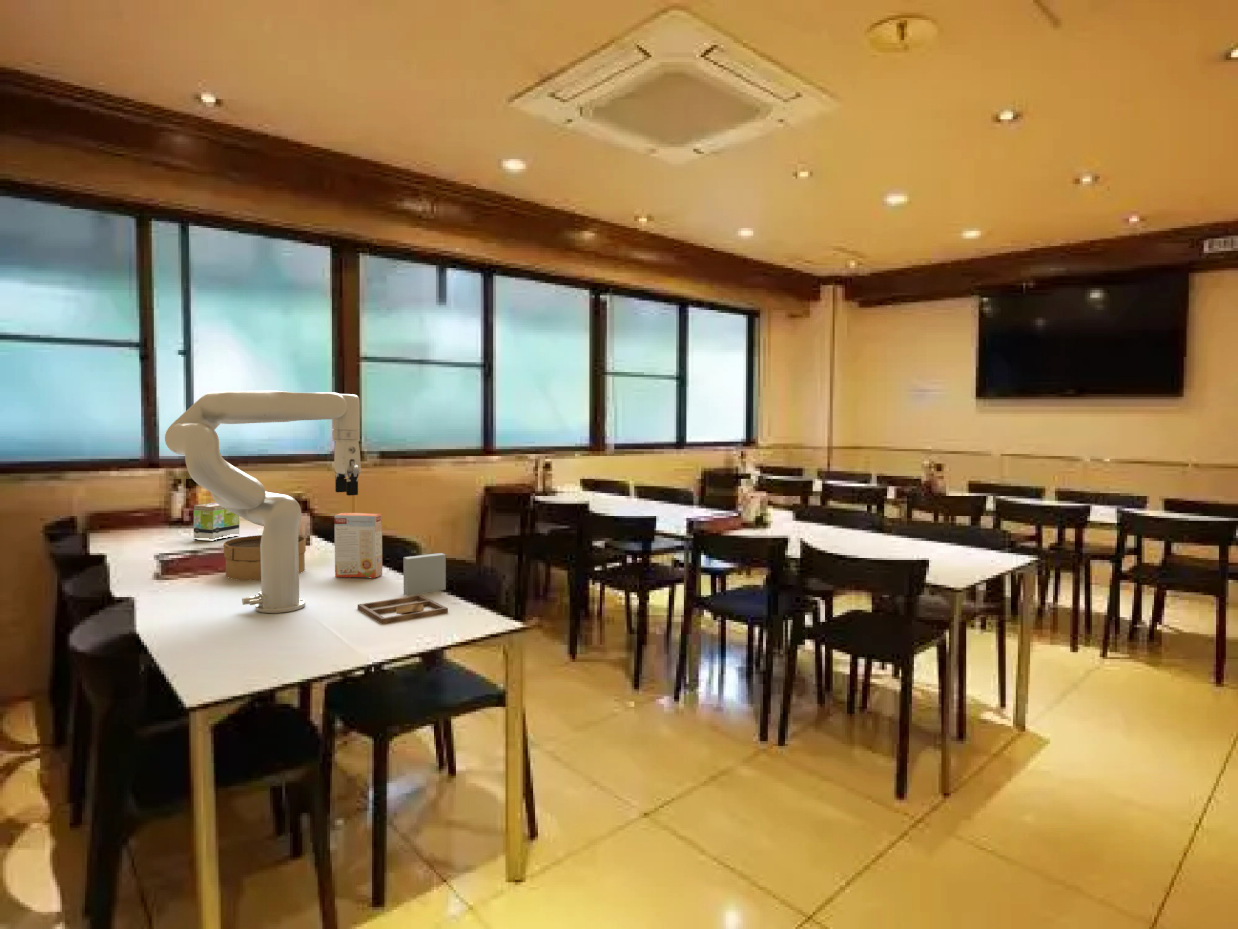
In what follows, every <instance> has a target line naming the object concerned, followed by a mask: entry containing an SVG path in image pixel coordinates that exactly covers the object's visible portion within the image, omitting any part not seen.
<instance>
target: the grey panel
mask: <svg viewBox="0 0 1238 929" xmlns="http://www.w3.org/2000/svg"><path fill="white" fill-rule="evenodd" d="M446 556H447V554H445V553H442V552H439V553H438V552H437V553H430V554H419V555H412V556H404V557H403V596H405V595H406V596H414V595H421V594H425V593H432V592H436V591H437V592H440V591H444V590H446V587H447V581H446V580H447V575H446V574H447V572H446V571H447V569H446V568H447V565H446V562H447V561H446V560H447V559H446Z"/></svg>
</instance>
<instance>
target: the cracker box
mask: <svg viewBox="0 0 1238 929" xmlns="http://www.w3.org/2000/svg"><path fill="white" fill-rule="evenodd" d="M333 517H334V519H333V520H334V575H335V576H334V577H335V578H351V577H371V578H370V579H376V578H375V577H377V578H379V577H381V576H382V575H383V526H382V525H383V522H382V521H383V519H382V517H383V514H382V513H366V512H363V513H362V512H341V513H336V514H334V516H333Z"/></svg>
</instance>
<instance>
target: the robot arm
mask: <svg viewBox="0 0 1238 929" xmlns="http://www.w3.org/2000/svg"><path fill="white" fill-rule="evenodd" d="M360 410H361V408H360V397H359V396H358V395H357V394H353V393H352V394H350V393H338V392H331V391H330V392H329V391H327V392H325V391H324V392H322V391H321V392H295V391H285V390H284V391H281V390H280V391H279V390H255V391H254V390H247V391H246V390H245V391H244V390H242V391H241V390H237V391H236V390H235V391H234V390H230V391H229V390H226V391H223V390H222V391H211V392H207V393H206V394H204V395H202V396H201V397H200V398H199V399H197V401H195V402H194V403H193V404H192V405H191V406H190V407H189V408H188V409H187V410H185V412H183V413H182V414H181V415H180V416H179V417H177V419H176V420H174V422H172V424H170V425H169V426H168V428H167V430H166V431H165V434H164V442H165V445H166V446H167V448H168V449H169V450H170V451H171V452H173V453H174V454H177V455H180V456H184V461H185V465H186V469H187V472H188V474H189V475H190V478H191V479H192V480H193V481H194V482H195V483H196V484H197V485H199V486H200V487H202V488H203V489H205V490H207V491H208V492H210V494H211V496H212V498H213V500H214V502H215V503H218V504H219V505H220V506H222V507H223V508H225V509H227V510H229V511H231V512H233V513H234V514H236V515H238V516H239V518H242V519H244V520H246V521H247V522H250V523H252V524H254V525H257V526H262V527H263V531H262V534H261V535H262V537H261V545H260V552H261V580H260V586H261V587H260V588H261V589H260V591H258V592H257V594H254V596H247V597H242V599H241V602H242V605H243V606H245V605H250V606H254V605H255V607H254V608H255V609H254V610H255V611H256V612H258V613H263V614H278V613H287V612H294V611H297V610H301V609H302V608H304V607H306V600H305V599H303V598H300V574H299V551H298V536H300V535H299V533H300V532H299V531H300V527H301V521H302V509H301V508H302V507H301V505H300V503H299V502H298V500H296V499H295V498H294V497H293V496H289V495H288V494H283V493H276V492H270V491H266V488H265V486H264V484H263V483H262V482H261V481H259V479H257V478H256V477H255V476H252V475H250V474H248V473H246V472H244V471H243V470H242V469H240V468H237V467H236V466H234V465H232V464H231V463H230V462H229V461H227V460H225V459H224V457H223V456H222V455H221V452H220V451H221V450H220V439H219V435H218V433H217V432H216V429H217V428H218V427H219V426H220V425H221V424H222V425H223V424H224V425H236V424H237V425H241V424H261V423H262V424H265V423H266V424H267V423H268V424H269V423H289V422H296V421H300V422H301V421H318V420H320V421H321V420H325V421H326V420H332V441H333V442H334V455H333V456H334V460H333V462H334V465H333V466H334V472H335V475H334V478H335V484H334V485H335V488H334V489H335V493H346V496H348V497H351V496H358V495H359V475H360V474H361V473H362V468H361V467H362V465H361V451H360V450H361V449H360V443H359V442H360V440H361V437H360V436H361V435H360V433H361V430H360V429H361V427H360V426H361V425H360V424H361V423H360V421H361V420H360V415H361V414H360V412H361V411H360Z"/></svg>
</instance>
